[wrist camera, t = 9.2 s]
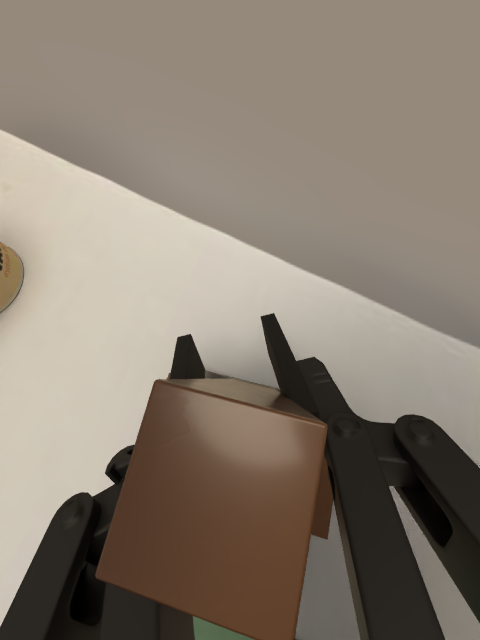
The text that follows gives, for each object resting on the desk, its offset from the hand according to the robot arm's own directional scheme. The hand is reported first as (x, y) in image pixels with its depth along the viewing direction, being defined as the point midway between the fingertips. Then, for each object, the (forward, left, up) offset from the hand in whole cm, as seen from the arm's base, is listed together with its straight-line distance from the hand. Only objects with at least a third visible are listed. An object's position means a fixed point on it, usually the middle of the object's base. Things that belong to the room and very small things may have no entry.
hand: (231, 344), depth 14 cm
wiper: (-2, +3, -6) cm, 7 cm away
